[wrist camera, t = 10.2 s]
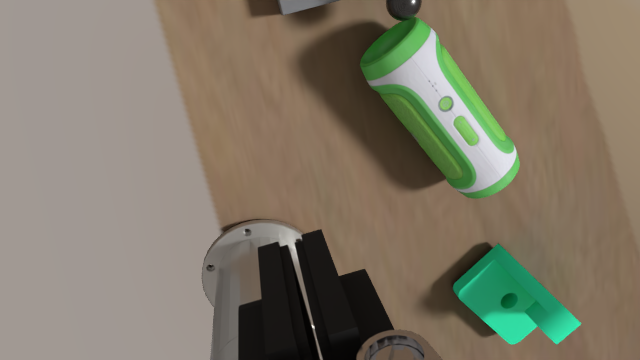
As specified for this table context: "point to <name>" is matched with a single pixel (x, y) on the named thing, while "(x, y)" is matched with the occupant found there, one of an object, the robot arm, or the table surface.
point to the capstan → (403, 8)
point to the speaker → (440, 108)
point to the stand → (299, 5)
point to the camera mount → (512, 299)
